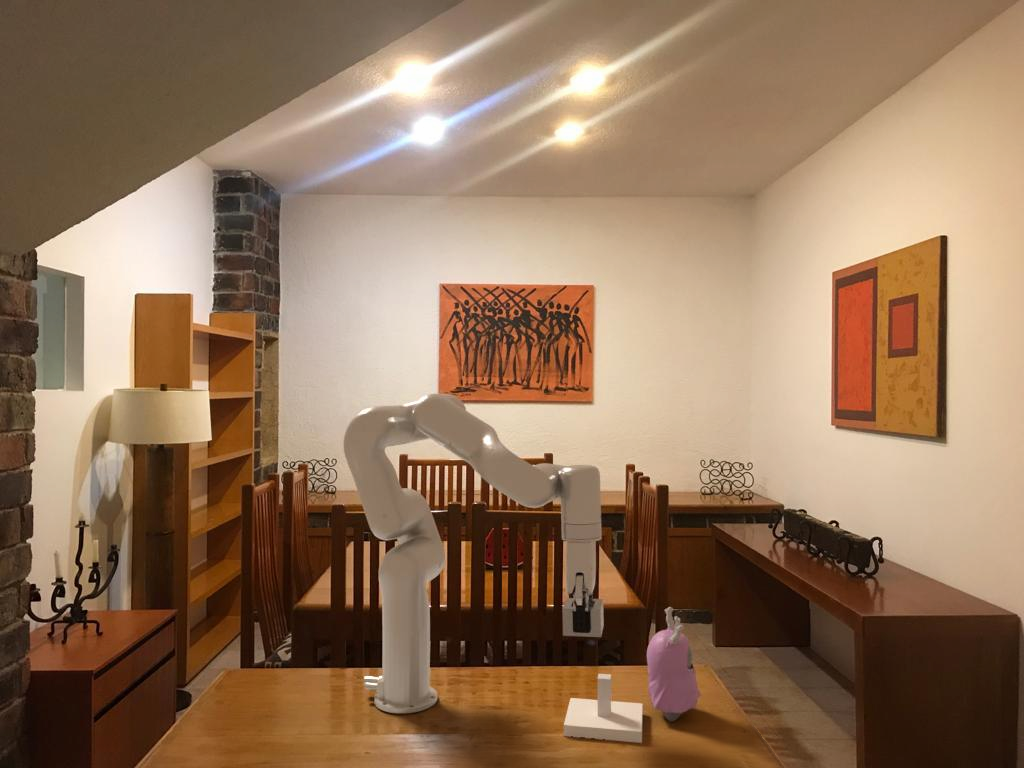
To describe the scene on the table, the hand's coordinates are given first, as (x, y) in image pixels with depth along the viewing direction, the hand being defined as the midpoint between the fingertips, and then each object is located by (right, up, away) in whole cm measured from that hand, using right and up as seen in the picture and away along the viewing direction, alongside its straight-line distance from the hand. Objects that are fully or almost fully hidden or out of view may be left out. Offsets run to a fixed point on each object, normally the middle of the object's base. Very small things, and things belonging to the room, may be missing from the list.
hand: (583, 625), depth 138 cm
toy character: (+18, -19, +4) cm, 26 cm away
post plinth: (+4, -19, 0) cm, 19 cm away
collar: (0, -1, 0) cm, 1 cm away
